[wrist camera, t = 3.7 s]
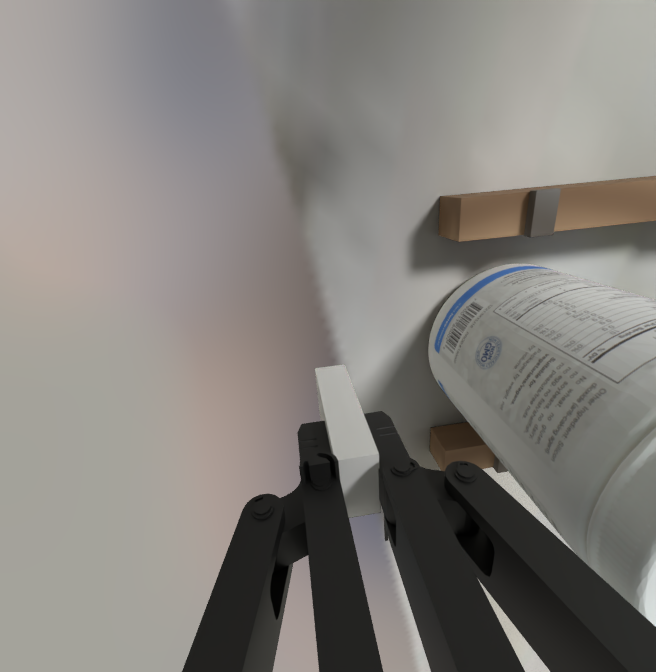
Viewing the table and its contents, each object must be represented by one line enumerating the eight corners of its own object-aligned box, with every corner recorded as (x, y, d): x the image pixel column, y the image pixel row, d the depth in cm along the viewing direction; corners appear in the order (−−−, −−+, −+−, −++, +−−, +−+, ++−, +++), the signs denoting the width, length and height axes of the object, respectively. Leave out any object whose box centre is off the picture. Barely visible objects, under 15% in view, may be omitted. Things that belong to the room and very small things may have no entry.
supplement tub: (566, 373, 25) (909, 598, 11) (435, 417, 25) (626, 694, 11) (564, 235, 21) (1084, 330, 7) (408, 287, 21) (651, 475, 7)
